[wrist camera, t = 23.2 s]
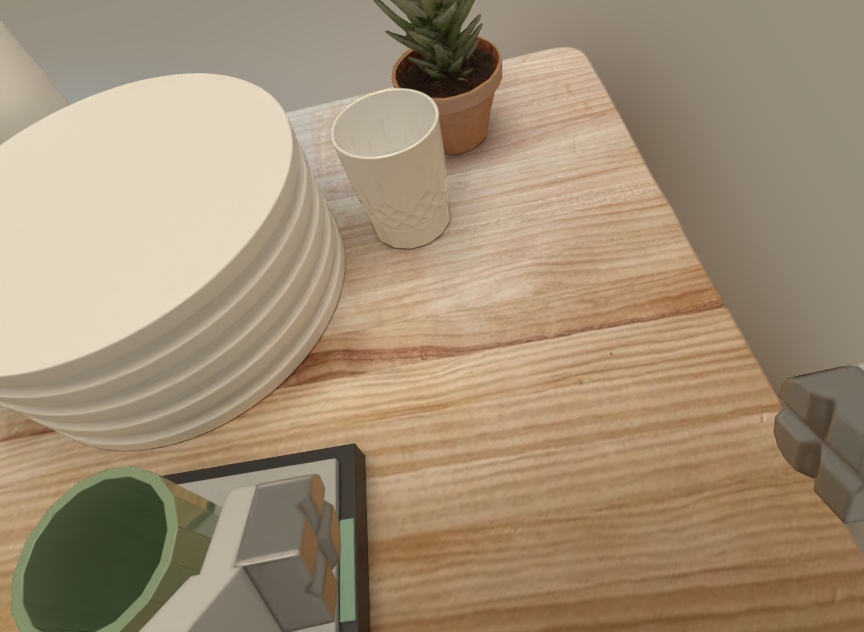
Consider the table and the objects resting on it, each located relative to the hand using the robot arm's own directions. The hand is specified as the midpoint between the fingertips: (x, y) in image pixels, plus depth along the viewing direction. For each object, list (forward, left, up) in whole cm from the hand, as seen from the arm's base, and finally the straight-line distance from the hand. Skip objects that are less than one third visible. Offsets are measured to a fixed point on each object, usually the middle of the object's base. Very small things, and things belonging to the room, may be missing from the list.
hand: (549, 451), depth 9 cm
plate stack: (+36, +1, -23) cm, 43 cm away
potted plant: (+29, -27, -23) cm, 46 cm away
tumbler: (+13, +11, -20) cm, 26 cm away
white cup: (+25, -16, -23) cm, 38 cm away
